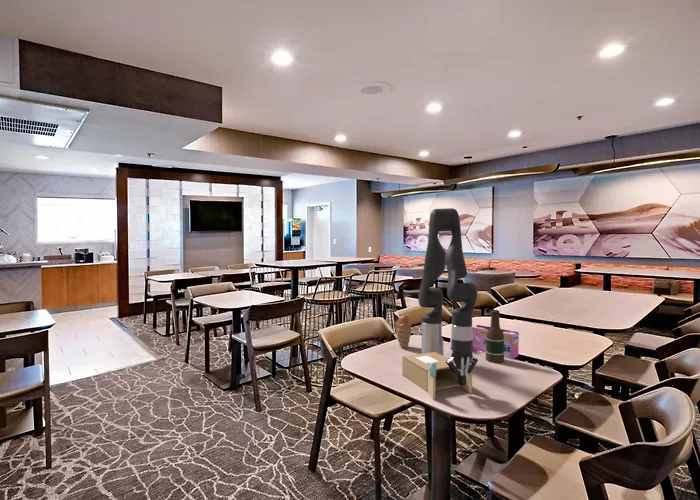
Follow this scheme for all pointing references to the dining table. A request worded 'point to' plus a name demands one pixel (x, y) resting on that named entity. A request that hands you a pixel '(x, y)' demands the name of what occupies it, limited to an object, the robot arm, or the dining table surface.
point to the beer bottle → (495, 340)
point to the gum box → (509, 341)
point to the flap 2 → (468, 383)
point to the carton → (420, 365)
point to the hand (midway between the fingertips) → (461, 385)
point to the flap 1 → (432, 380)
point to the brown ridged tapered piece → (403, 330)
